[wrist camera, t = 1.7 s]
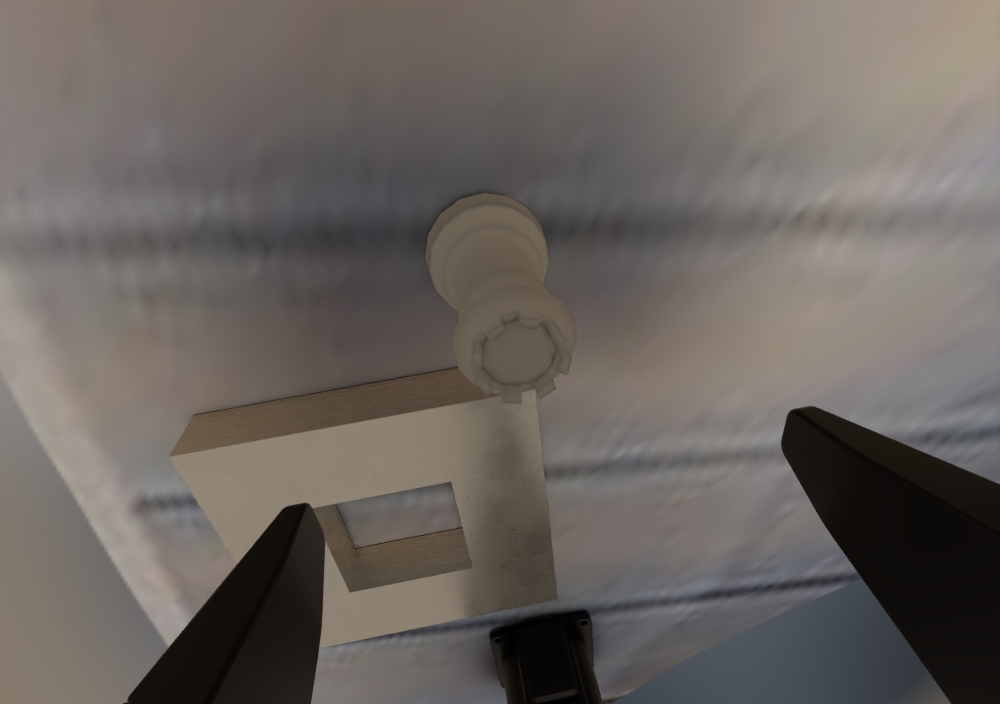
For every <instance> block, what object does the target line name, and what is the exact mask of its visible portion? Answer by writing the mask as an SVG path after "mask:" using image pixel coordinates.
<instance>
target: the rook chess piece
mask: <svg viewBox="0 0 1000 704" xmlns="http://www.w3.org/2000/svg"><path fill="white" fill-rule="evenodd" d="M425 259H426V262H427V265H428V270H429V273H430V276H431V279H432V282H433V285H434V288H435V290H436V291H437V292H438V293H439V294H440V295H441V297H442V298H443V299H444V300H445V301H446V302H447V303H448V304H449V306H450V307H451V308H453V309H455V310H457V311H458V318H457V322H458V324H457V325H456V327H455V333H454V340H453V347H452V350H453V353H454V356H455V359H456V362H457V365H458V368H459V370H460V371H461V372H462V373H463V374H464V375H465V376H466V377H467V378H468V379H469V380H470V381H471V382H472V383H473V384H474V385H477V386H478V387H479V388H480V389H481V390H482V392H483V393H484V394H485V395H486V396H487V395H488V394H489V393H490V392H493V393H501V396H502V401H503V403H512V404H522V395H521V393H523V392H527V391H531V390H534V389H535V390H536V392H537V394H538V396H539V398H540V399H541V398H543V397H544V396H546V395H547V394H549V393H550V392H552V391H554V390H555V389H556V388H555V385H554V383H553V380H552V379H553V378H554V377H556V376H557V375H558V374H559V373H563V374H566V375H567V373H568V370H569V366H570V363H571V359H572V358H571V355H572V352H573V348H574V344H575V341H576V332H575V326H574V320H573V316H572V315H571V313H570V312H569V311H568V309H567V308H566V306H565V305H564V304H563V302H562V301H561V300H560V299H559V298H557V297H555V296H554V295H552V294H550V292H549V291H548V290H547V288H546V287H545V286H544V280H545V275H546V271H547V267H548V262H549V256H548V250H547V245H546V239H545V236H544V234H543V232H542V228H541V226H540V225H539V223H538V222H537V220H536V219H535V217H534V216H533V214H532V213H531V211H530V210H529V209H528V208H527V207H525V206H523V205H522V204H520V203H518V202H517V201H515V200H514V199H512V198H510V197H509V196H503V195H496V194H489V193H481V194H478V195H474V196H470V197H466V198H462V199H459V200H458V201H457V202H455V203H454V204H453V205H451V206H450V207H449V208H448V209H446V210H445V211H444V212H442V213H441V214H440V215H439V217H438V219H437V220H436V222H435V224H434V226H433V227H432V229H431V231H430V233H429V234H428V239H427V249H426V258H425Z"/></svg>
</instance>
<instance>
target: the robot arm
mask: <svg viewBox="0 0 1000 704" xmlns="http://www.w3.org/2000/svg"><path fill="white" fill-rule="evenodd" d="M781 447H782V451H783V453H784V456H785V457H786V459H787V461H788V463H789V464H790V466H791V468H792V470H793V471H794V473H795V475H796V477H797V478H798V480H799V482H800V484H801V486H802V487H803V489H804V491H805V493H806V494H807V496H808V498H809V500H810V501H811V503H812V505H813V507H814V508H815V510H816V512H817V514H818V515H819V517H820V518H821V520H822V522H823V523H824V525H825V526H826V528H827V529H828V531H829V532H830V534H831V535H832V537H833V538H834V540H835V541H836V542H837V544H838V545H839V547H840V548H841V549H842V551H843V552H844V554H845V555H846V556H847V558H848V559H849V561H850V562H851V564H852V565H853V566H854V568H855V569H856V571H857V572H858V573H859V575H860V576H861V578H862V579H863V580H864V582H865V583H866V585H867V586H868V587H869V589H870V590H871V592H872V593H873V594H874V595H875V597H876V599H877V600H878V601H879V603H880V604H881V606H882V607H883V608H884V610H885V611H886V613H887V614H888V615H889V617H890V618H891V620H892V621H893V623H894V624H895V625H896V627H897V628H898V630H899V631H900V632H901V634H902V635H903V636H904V638H905V639H906V641H907V642H908V644H909V645H910V646H911V648H912V649H913V651H914V652H915V653H916V655H917V656H918V658H919V659H920V660H921V662H922V663H923V665H924V666H925V667H926V669H927V670H928V672H929V673H930V674H931V676H932V677H933V679H934V680H935V681H936V683H937V684H938V686H939V687H940V689H941V690H942V691H943V693H944V694H945V696H946V697H947V698H948V700H949V701H950V703H951V704H1000V484H998V483H996V482H993V481H991V480H988V479H986V478H984V477H981V476H979V475H977V474H974V473H972V472H969V471H967V470H965V469H962V468H960V467H957V466H955V465H953V464H950V463H948V462H946V461H943V460H941V459H938V458H936V457H934V456H931V455H929V454H927V453H924V452H922V451H919V450H917V449H915V448H912V447H910V446H908V445H905V444H903V443H900V442H898V441H896V440H893V439H891V438H888V437H886V436H884V435H881V434H879V433H877V432H874V431H872V430H869V429H867V428H865V427H862V426H860V425H858V424H855V423H853V422H850V421H848V420H846V419H843V418H841V417H839V416H836V415H834V414H831V413H829V412H827V411H824V410H822V409H819V408H817V407H814V406H807V407H802V408H797V409H793V410H791V411H790V412H789V413H788V415H787V418H786V423H785V427H784V431H783V436H782V440H781ZM324 565H325V536H324V532H323V530H322V527H321V525H320V523H319V521H318V519H317V517H316V515H315V513H314V510H313V508H312V507H311V505H310V504H309V503H300V504H295V505H289V506H286V507H285V508H283V509H282V510H281V511H280V513H279V514H278V515H277V516H276V517H275V519H274V520H273V521H272V522H271V524H270V525H269V526H268V527H267V528H266V530H265V531H264V532H263V533H262V535H261V536H260V537H259V538H258V539H257V541H256V542H255V543H254V544H253V545H252V547H251V548H250V549H249V550H248V552H247V553H246V554H245V555H244V556H243V558H242V559H241V560H240V561H239V563H238V564H237V565H236V566H235V567H234V569H233V570H232V571H231V572H230V574H229V575H228V576H227V577H226V578H225V580H224V581H223V582H222V583H221V585H220V586H219V587H218V588H217V589H216V591H215V592H214V593H213V594H212V595H211V597H210V598H209V599H208V600H207V602H206V603H205V604H204V605H203V606H202V608H201V609H200V610H199V611H198V613H197V614H196V615H195V616H194V617H193V619H192V620H191V621H190V622H189V624H188V625H187V626H186V627H185V628H184V630H183V631H182V632H181V633H180V634H179V636H178V637H177V638H176V639H175V641H174V642H173V643H172V644H171V645H170V647H169V648H168V649H167V650H166V652H165V653H164V654H163V655H162V657H161V658H160V659H159V660H158V661H157V663H156V664H155V665H154V666H153V668H152V669H151V670H150V671H149V672H148V674H147V675H146V676H145V677H144V678H143V680H142V681H141V682H140V683H139V685H138V686H137V687H136V688H135V689H134V691H133V692H132V693H131V694H130V696H129V697H128V700H127V702H128V703H127V702H126V703H123V704H311V699H312V692H313V685H314V679H315V672H316V665H317V659H318V652H319V646H320V638H321V630H322V616H323V592H324ZM490 643H491V647H492V651H493V655H494V660H495V664H496V668H497V672H498V676H499V680H500V684H501V687H503V688H505V690H506V697H507V704H603V702H602V698H601V694H600V691H599V687H598V684H597V680H596V677H595V673H594V669H593V667H594V663H593V642H592V622H591V618H590V615H589V614H588V613H578V614H573V615H569V616H564V617H559V618H554V619H549V620H545V621H540V622H535V623H530V624H525V625H521V626H516V627H511V628H506V629H501V630H497V631H493V632H492V633H491V634H490Z"/></svg>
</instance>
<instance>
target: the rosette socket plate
mask: <svg viewBox="0 0 1000 704" xmlns="http://www.w3.org/2000/svg"><path fill="white" fill-rule="evenodd" d="M521 395H522V404H512V403H503V401H502V396H501V393H493V392H490V393H489V394H488V395H487V396H486V395H485V394H484V393H483V392H482V390H481V389H480V388H479V387H478V386H477V385H474V384H473V383H472V382H471V381H470V380H469V379H468V378H467V377H466V376H465V375H464V374H463V373H462V372H461V371H460V370H459V368H454V369H449V370H443V371H438V372H432V373H426V374H421V375H415V376H410V377H404V378H399V379H393V380H388V381H382V382H376V383H371V384H365V385H360V386H354V387H349V388H343V389H338V390H332V391H326V392H321V393H315V394H310V395H304V396H299V397H293V398H288V399H282V400H277V401H271V402H265V403H260V404H254V405H249V406H243V407H238V408H232V409H227V410H221V411H215V412H210V413H204V414H199V415H193V417H192V419H191V420H190V422H189V424H188V425H187V427H186V429H185V430H184V432H183V434H182V435H181V437H180V439H179V440H178V442H177V444H176V446H175V447H174V449H173V451H172V452H171V454H170V456H169V458H170V460H171V461H172V463H173V465H174V466H175V468H176V469H177V471H178V472H179V474H180V475H181V477H182V479H183V480H184V482H185V483H186V485H187V486H188V488H189V490H190V491H191V493H192V494H193V496H194V497H195V499H196V500H197V502H198V504H199V505H200V507H201V508H202V510H203V511H204V513H205V515H206V516H207V518H208V519H209V521H210V522H211V524H212V526H213V527H214V529H215V530H216V532H217V533H218V535H219V536H220V538H221V540H222V541H223V543H224V544H225V546H226V547H227V549H228V551H229V552H230V554H231V555H232V557H233V558H234V560H235V561H236V563H237V564H238V563H239V561H240V560H241V559H242V558H243V556H244V555H245V554H246V553H247V552H248V550H249V549H250V548H251V547H252V545H253V544H254V543H255V542H256V541H257V539H258V538H259V537H260V536H261V535H262V533H263V532H264V531H265V530H266V528H267V527H268V526H269V525H270V524H271V522H272V521H273V520H274V519H275V517H276V516H277V515H278V514H279V513H280V511H281V510H282V509H283V508H285V507H286V506H289V505H295V504H300V503H309V504H310V505H311V507H312V508H313V510H314V513H315V515H316V517H317V519H318V521H319V523H320V525H321V527H322V530H323V532H324V536H325V565H324V592H323V616H322V630H321V638H320V646H319V648H323V647H328V646H333V645H338V644H342V643H347V642H352V641H357V640H362V639H367V638H372V637H376V636H381V635H386V634H391V633H396V632H401V631H405V630H410V629H415V628H420V627H425V626H430V625H435V624H439V623H444V622H449V621H454V620H459V619H464V618H469V617H473V616H478V615H483V614H488V613H493V612H498V611H502V610H507V609H512V608H517V607H522V606H527V605H532V604H536V603H541V602H546V601H551V600H556V599H558V598H557V589H556V579H555V570H554V561H553V551H552V542H551V532H550V523H549V514H548V504H547V495H546V486H545V476H544V467H543V457H542V448H541V439H540V429H539V420H538V410H537V401H536V392H535V389H534V390H531V391H527V392H523V393H521ZM446 482H452V487H453V491H454V495H455V499H456V503H457V507H458V511H459V515H460V519H461V523H462V527H463V528H459V529H454V530H449V531H444V532H439V533H434V534H429V535H424V536H419V537H414V538H409V539H404V540H398V541H393V542H388V543H383V544H378V545H373V546H368V547H363V548H358V549H355V548H354V545H353V543H352V541H351V538H350V536H349V534H348V531H347V529H346V527H345V525H344V522H343V520H342V518H341V515H340V513H339V511H338V508H337V506H336V504H337V503H342V502H347V501H353V500H358V499H363V498H368V497H373V496H379V495H384V494H389V493H394V492H400V491H405V490H410V489H415V488H420V487H426V486H431V485H436V484H441V483H446Z"/></svg>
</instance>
